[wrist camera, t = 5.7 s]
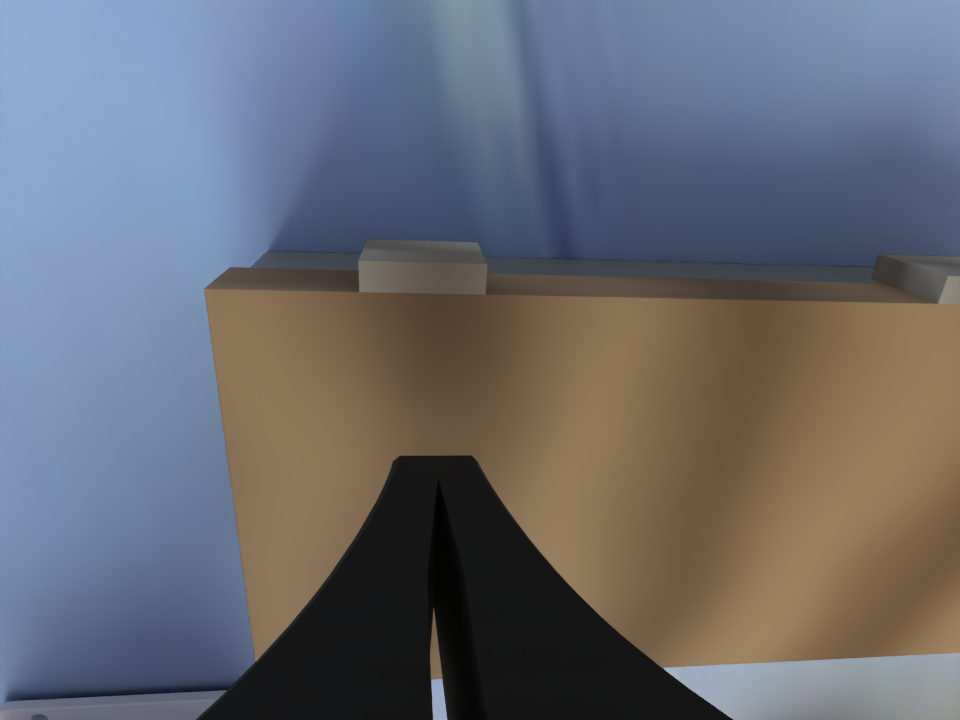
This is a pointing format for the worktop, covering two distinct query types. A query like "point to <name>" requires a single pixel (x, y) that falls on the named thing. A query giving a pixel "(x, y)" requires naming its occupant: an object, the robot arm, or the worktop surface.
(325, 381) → the tan flat wooden board
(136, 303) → the worktop surface
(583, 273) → the cable duct
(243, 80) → the worktop surface
